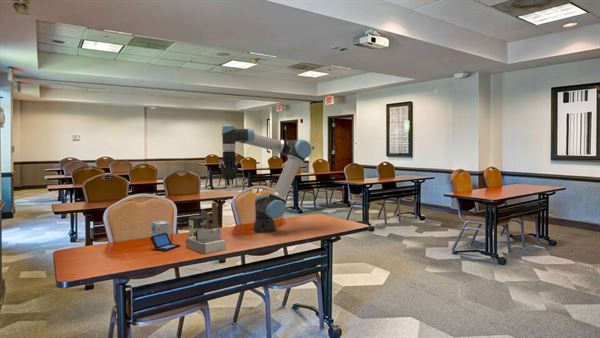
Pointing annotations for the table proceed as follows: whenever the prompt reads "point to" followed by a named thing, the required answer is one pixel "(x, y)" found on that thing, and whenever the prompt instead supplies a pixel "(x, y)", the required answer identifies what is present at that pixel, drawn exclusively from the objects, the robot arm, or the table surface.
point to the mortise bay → (205, 245)
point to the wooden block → (208, 217)
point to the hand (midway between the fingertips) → (229, 190)
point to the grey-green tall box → (196, 224)
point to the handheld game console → (163, 242)
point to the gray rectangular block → (208, 235)
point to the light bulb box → (160, 228)
